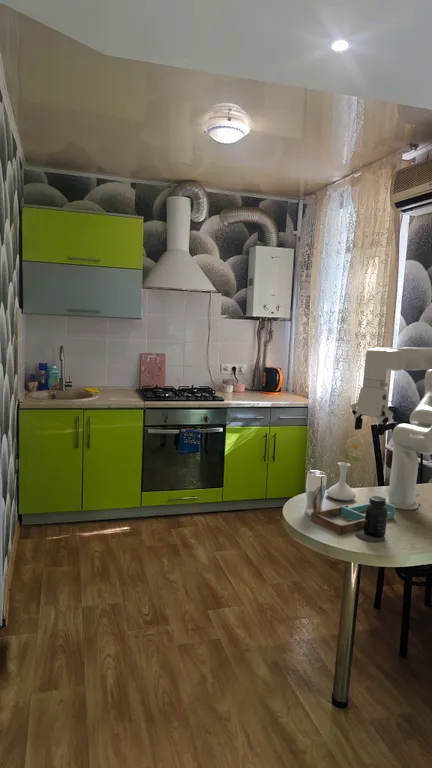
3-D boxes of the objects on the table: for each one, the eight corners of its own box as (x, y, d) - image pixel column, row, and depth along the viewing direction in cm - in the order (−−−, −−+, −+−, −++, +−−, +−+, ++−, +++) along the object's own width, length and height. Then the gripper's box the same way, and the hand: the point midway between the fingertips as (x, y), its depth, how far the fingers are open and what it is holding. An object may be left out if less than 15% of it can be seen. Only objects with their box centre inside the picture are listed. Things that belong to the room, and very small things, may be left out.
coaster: (367, 529, 174) (367, 527, 173) (390, 539, 166) (390, 537, 166) (349, 534, 168) (349, 532, 168) (372, 544, 161) (372, 542, 161)
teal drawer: (369, 507, 194) (371, 497, 194) (394, 517, 186) (395, 506, 185) (340, 515, 184) (341, 503, 184) (364, 525, 176) (365, 513, 175)
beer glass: (323, 518, 181) (327, 476, 179) (303, 516, 182) (307, 474, 180) (322, 511, 187) (326, 471, 186) (303, 509, 189) (307, 469, 187)
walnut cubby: (345, 512, 188) (346, 504, 188) (375, 525, 177) (376, 517, 177) (310, 521, 177) (311, 512, 177) (340, 535, 167) (341, 526, 167)
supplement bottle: (358, 531, 169) (362, 496, 168) (372, 528, 173) (376, 493, 172) (375, 539, 164) (379, 503, 162) (389, 536, 167) (393, 500, 166)
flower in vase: (325, 500, 200) (331, 437, 197) (326, 491, 211) (332, 431, 208) (360, 505, 197) (367, 441, 194) (359, 496, 208) (365, 435, 205)
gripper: (401, 387, 177) (396, 436, 179) (361, 381, 191) (356, 426, 193) (388, 387, 173) (382, 438, 175) (347, 381, 187) (343, 427, 189)
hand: (369, 432), depth 184 cm, fingers open, 9 cm apart
